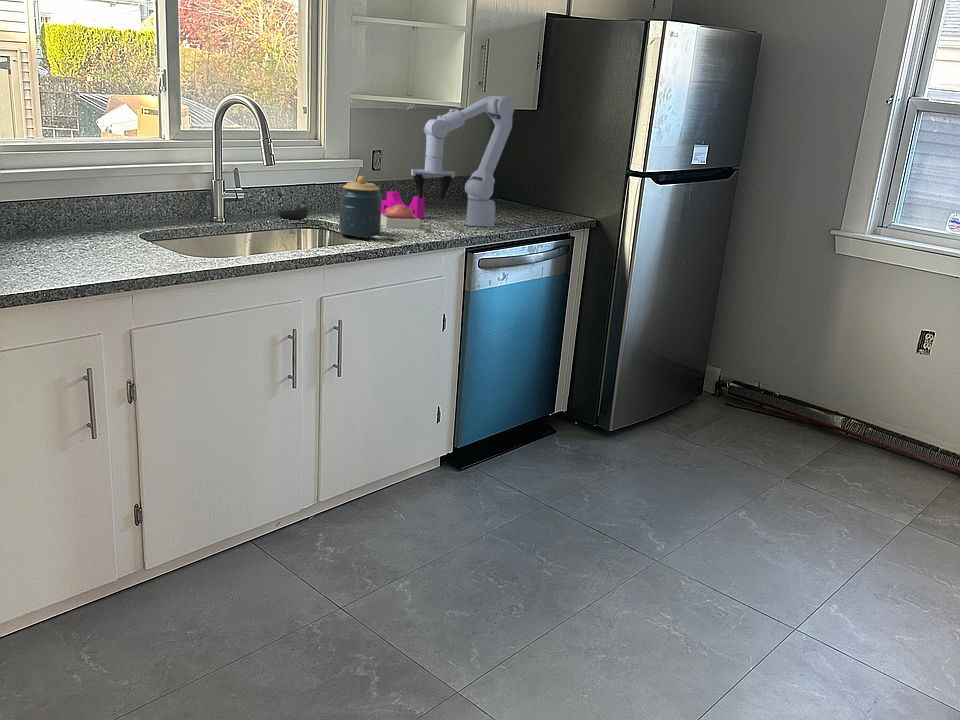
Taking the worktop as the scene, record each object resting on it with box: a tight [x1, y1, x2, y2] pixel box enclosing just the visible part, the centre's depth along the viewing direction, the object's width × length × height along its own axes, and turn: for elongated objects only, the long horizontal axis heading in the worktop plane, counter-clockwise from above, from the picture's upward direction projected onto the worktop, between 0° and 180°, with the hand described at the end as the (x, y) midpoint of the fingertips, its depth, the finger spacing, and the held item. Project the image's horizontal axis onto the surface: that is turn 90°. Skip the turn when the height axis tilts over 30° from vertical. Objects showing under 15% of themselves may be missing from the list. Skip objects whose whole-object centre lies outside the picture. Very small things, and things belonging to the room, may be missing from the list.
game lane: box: [420, 215, 465, 233], centre depth 304 cm, size 13×34×1 cm, turn 20°
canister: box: [338, 175, 383, 237], centre depth 270 cm, size 13×13×18 cm
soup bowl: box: [276, 205, 310, 225], centre depth 297 cm, size 15×16×7 cm
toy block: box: [380, 190, 426, 219], centre depth 312 cm, size 15×6×8 cm, turn 51°
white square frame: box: [381, 213, 422, 230], centre depth 295 cm, size 12×12×3 cm
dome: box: [386, 204, 413, 219], centre depth 294 cm, size 9×9×6 cm
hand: (431, 198), depth 295 cm, fingers open, 7 cm apart
